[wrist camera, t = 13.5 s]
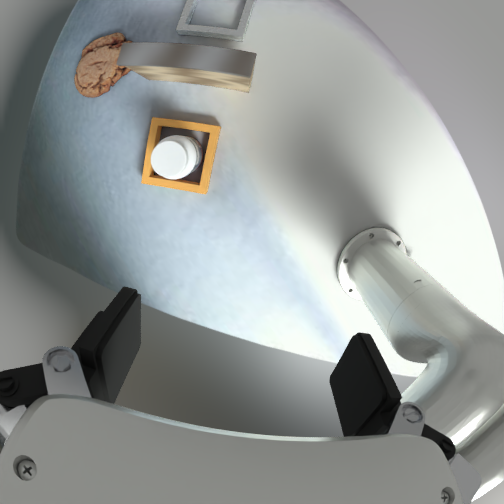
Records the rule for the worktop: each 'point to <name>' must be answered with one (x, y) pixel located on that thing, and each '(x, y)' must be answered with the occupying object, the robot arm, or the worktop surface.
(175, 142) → the pill bottle
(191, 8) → the collar
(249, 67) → the beige brown upright block
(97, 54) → the cookie
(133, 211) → the worktop surface
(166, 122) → the collar
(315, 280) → the worktop surface
